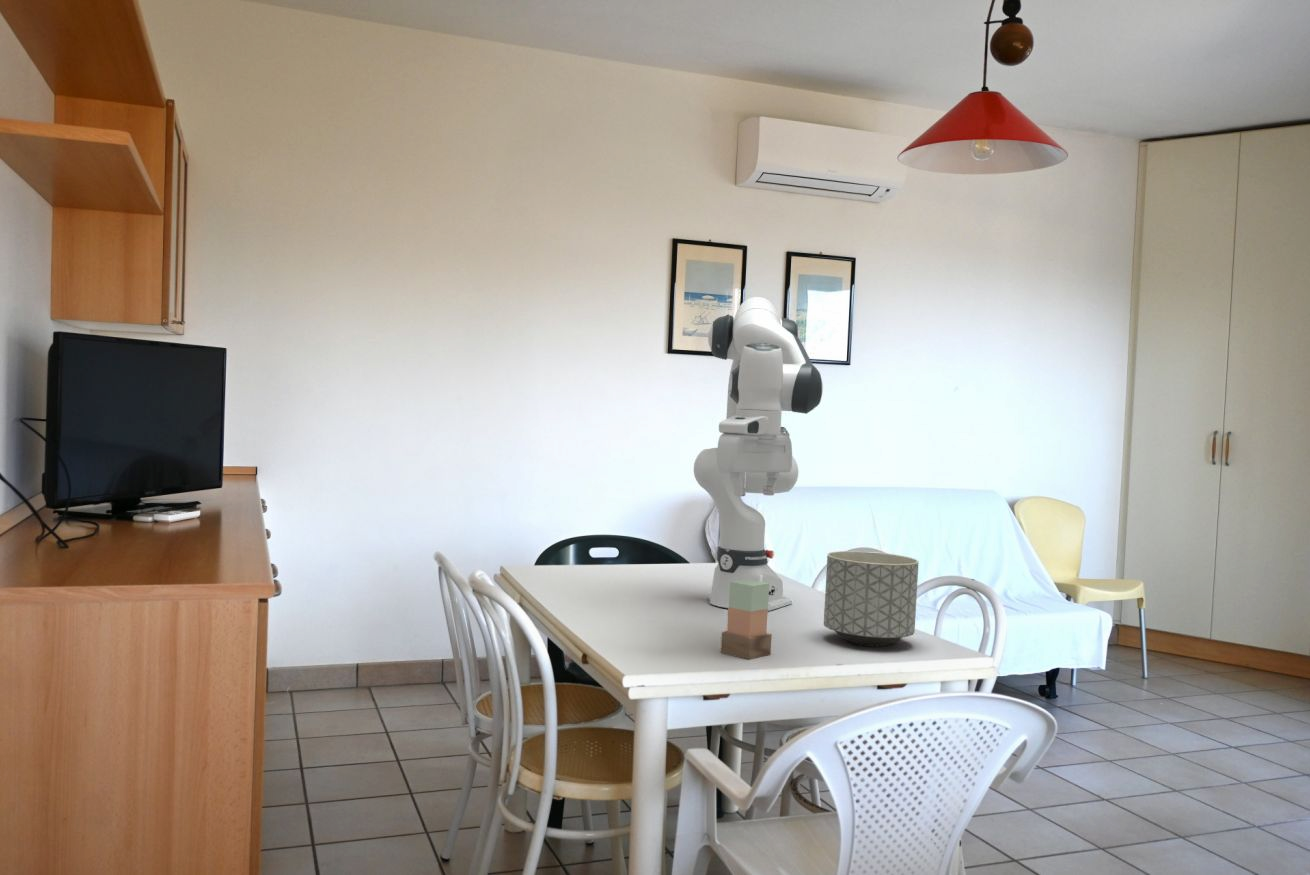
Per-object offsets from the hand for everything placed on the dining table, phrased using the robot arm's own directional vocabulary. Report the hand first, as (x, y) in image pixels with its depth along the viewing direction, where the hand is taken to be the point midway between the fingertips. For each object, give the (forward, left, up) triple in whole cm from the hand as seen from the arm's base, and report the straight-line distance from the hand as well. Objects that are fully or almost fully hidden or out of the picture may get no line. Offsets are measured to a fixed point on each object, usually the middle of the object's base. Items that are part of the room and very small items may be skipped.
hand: (754, 495), depth 196 cm
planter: (-31, +9, -31) cm, 45 cm away
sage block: (0, 0, -22) cm, 22 cm away
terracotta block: (0, 0, -27) cm, 27 cm away
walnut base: (0, 0, -31) cm, 31 cm away
